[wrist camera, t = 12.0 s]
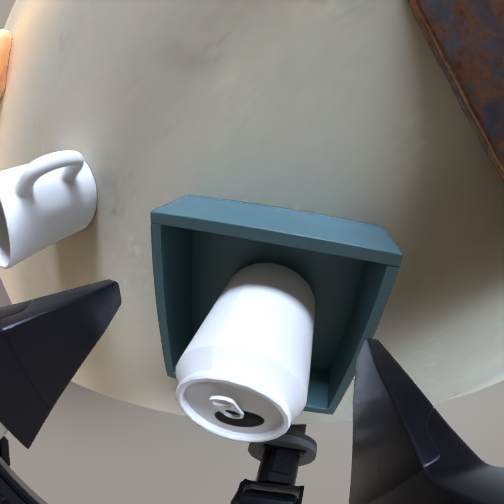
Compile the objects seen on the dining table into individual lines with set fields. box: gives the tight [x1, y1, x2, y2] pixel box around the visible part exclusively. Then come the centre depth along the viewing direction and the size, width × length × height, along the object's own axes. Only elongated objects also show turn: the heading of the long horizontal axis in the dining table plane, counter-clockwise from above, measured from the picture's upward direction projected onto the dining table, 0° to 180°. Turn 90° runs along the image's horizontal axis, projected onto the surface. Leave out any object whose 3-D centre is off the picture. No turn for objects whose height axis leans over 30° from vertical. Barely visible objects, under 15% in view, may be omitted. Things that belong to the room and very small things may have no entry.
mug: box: [0, 151, 97, 269], centre depth 19 cm, size 12×8×11 cm
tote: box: [151, 195, 403, 414], centre depth 21 cm, size 16×16×6 cm
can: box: [175, 263, 315, 442], centre depth 17 cm, size 8×8×12 cm
